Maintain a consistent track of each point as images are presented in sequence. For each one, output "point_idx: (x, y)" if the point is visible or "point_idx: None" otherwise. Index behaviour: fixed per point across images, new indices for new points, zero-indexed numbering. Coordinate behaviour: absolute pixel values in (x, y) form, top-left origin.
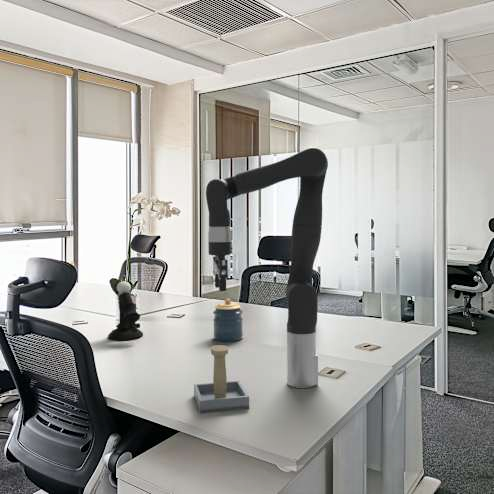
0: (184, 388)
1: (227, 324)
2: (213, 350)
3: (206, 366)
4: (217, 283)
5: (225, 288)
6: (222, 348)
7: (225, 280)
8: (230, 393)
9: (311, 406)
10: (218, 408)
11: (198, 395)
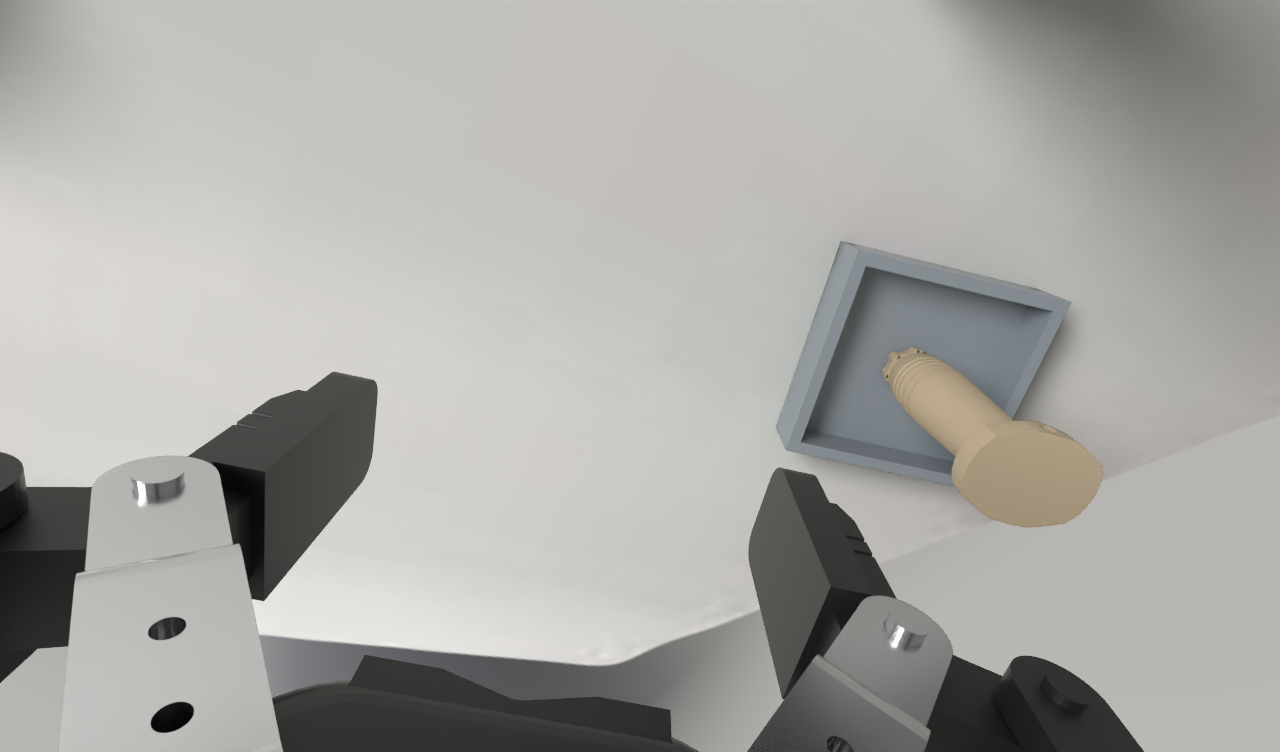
0: (674, 432)
1: None
2: (1047, 524)
3: (404, 233)
4: (340, 474)
5: (816, 499)
6: (1048, 467)
7: (865, 595)
8: (879, 306)
9: (1222, 7)
10: None
11: (918, 476)
